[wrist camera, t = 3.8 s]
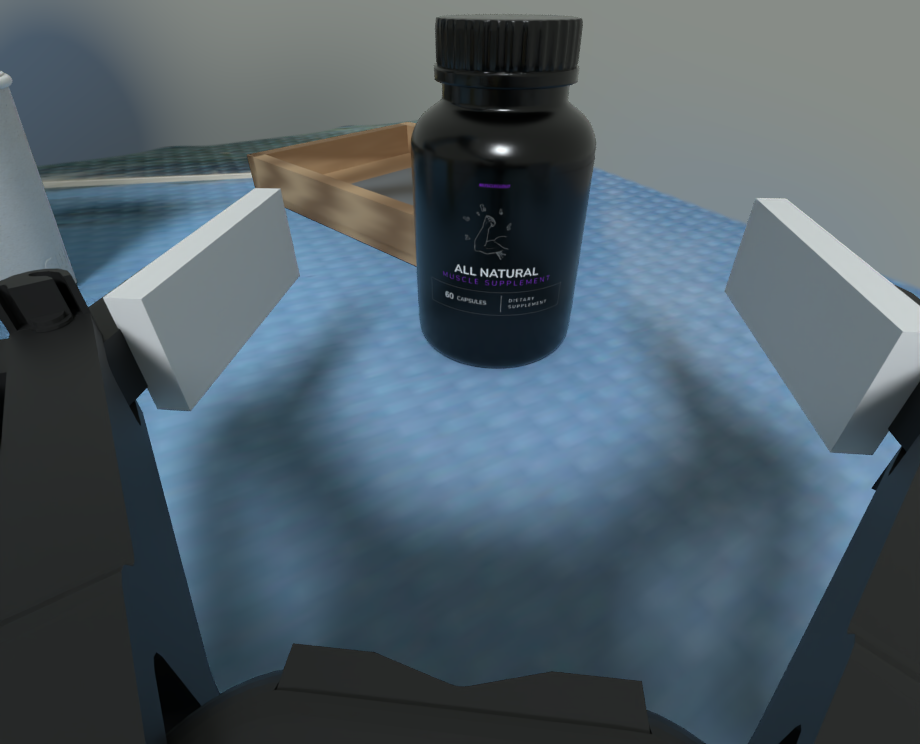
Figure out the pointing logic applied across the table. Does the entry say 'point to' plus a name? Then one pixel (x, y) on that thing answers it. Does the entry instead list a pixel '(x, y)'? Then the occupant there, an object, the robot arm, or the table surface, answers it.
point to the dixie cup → (24, 201)
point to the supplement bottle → (501, 188)
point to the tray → (349, 185)
